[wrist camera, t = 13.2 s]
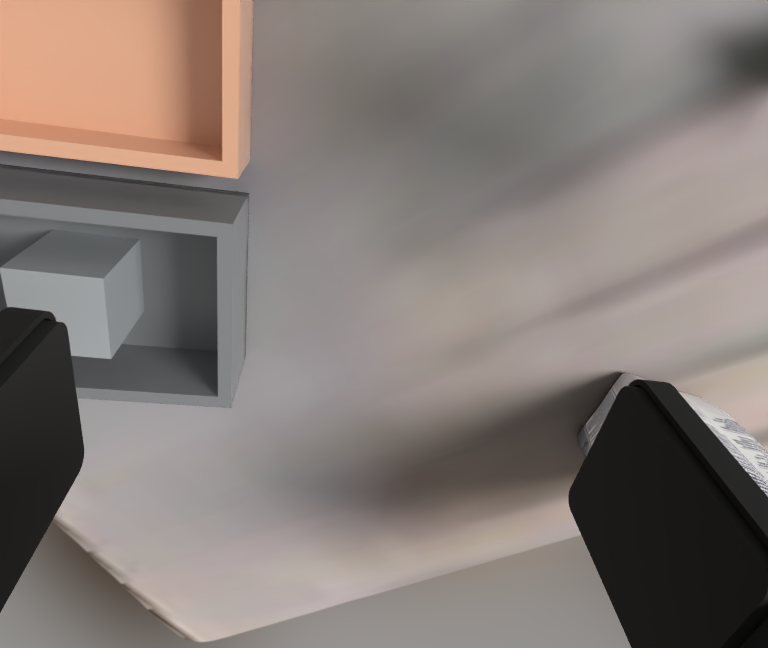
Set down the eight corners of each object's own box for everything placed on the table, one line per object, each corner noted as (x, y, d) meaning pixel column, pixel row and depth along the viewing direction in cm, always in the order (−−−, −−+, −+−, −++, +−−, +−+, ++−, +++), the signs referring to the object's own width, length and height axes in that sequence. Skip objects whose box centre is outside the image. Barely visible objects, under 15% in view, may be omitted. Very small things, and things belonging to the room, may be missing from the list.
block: (53, 229, 33) (-1, 267, 27) (139, 239, 33) (103, 278, 28) (63, 302, 35) (15, 350, 30) (144, 310, 36) (111, 358, 30)
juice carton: (617, 356, 41) (987, 789, 18) (722, 393, 44) (1166, 814, 20) (557, 440, 45) (799, 891, 22) (657, 470, 48) (969, 901, 24)
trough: (-150, -160, 24) (-244, -196, 20) (255, -85, 27) (241, -104, 23) (-80, 119, 30) (-143, 133, 26) (249, 160, 32) (237, 178, 28)
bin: (-71, 155, 31) (-155, 182, 26) (249, 193, 33) (232, 224, 28) (-26, 336, 36) (-87, 387, 31) (245, 356, 39) (231, 408, 34)
